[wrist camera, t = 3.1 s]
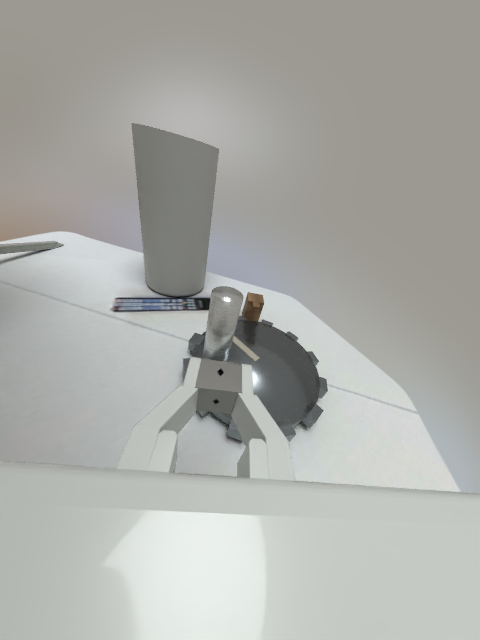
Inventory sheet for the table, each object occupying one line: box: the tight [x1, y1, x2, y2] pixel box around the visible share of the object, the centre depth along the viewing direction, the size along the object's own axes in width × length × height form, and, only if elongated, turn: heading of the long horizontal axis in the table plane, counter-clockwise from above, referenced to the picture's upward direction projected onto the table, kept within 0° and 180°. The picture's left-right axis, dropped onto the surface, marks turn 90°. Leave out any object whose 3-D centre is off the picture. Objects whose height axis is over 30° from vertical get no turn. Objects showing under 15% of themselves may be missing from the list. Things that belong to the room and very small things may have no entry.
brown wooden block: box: [242, 292, 264, 322], centre depth 37 cm, size 3×5×5 cm, turn 0°
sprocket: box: [183, 286, 328, 442], centre depth 24 cm, size 20×20×13 cm
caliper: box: [0, 241, 64, 254], centre depth 37 cm, size 20×1×6 cm, turn 172°
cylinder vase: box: [132, 123, 219, 297], centre depth 37 cm, size 12×12×25 cm
